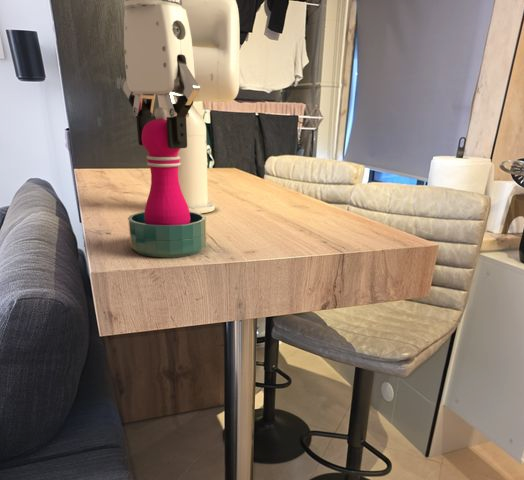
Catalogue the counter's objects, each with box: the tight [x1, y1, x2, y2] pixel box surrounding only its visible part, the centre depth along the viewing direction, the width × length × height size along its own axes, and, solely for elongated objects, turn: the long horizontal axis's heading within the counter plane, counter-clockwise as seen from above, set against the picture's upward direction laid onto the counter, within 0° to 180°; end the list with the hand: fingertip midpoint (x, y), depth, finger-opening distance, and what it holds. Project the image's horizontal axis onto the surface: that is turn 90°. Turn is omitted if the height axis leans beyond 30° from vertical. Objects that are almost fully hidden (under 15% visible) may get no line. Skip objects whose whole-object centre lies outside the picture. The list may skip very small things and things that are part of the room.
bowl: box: [127, 211, 208, 259], centre depth 74 cm, size 12×12×5 cm
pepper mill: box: [142, 106, 190, 225], centre depth 70 cm, size 7×7×20 cm
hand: (162, 145), depth 68 cm, fingers closed on pepper mill, 6 cm apart
